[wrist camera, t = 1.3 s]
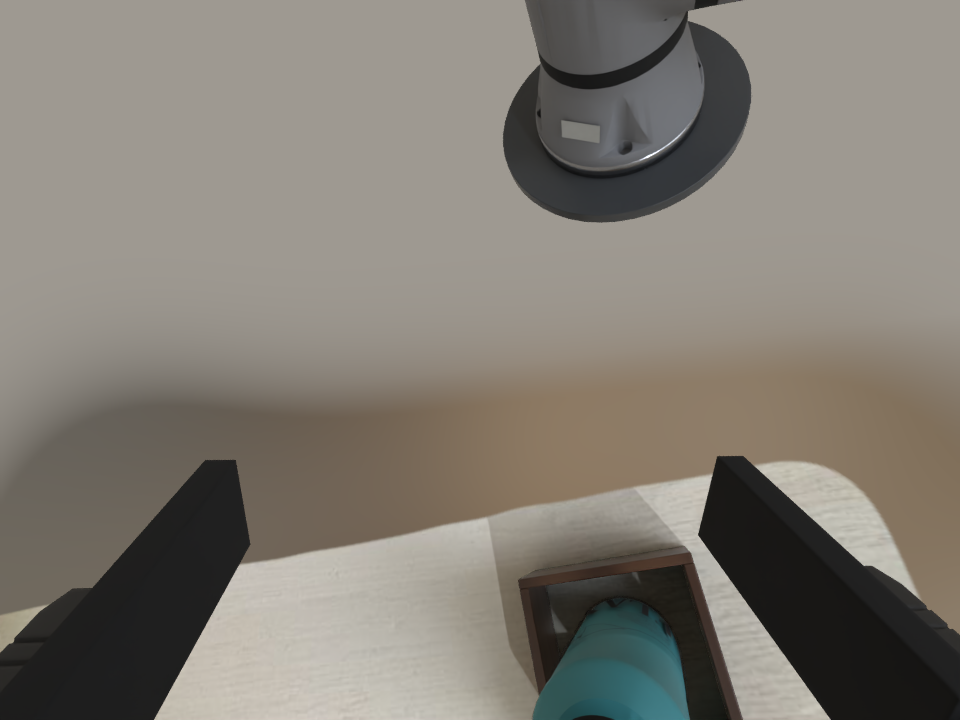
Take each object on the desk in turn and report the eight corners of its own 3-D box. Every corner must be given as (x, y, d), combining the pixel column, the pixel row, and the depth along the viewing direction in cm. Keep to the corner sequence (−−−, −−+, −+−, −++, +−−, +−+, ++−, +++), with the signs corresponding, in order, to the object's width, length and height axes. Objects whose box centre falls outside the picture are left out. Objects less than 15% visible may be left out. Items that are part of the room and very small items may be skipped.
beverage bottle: (687, 609, 31) (741, 750, 13) (671, 720, 29) (705, 1051, 12) (589, 576, 33) (519, 656, 15) (570, 677, 32) (468, 894, 14)
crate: (685, 546, 32) (690, 551, 28) (743, 735, 28) (761, 778, 24) (534, 570, 35) (517, 579, 30) (569, 745, 31) (555, 786, 26)
